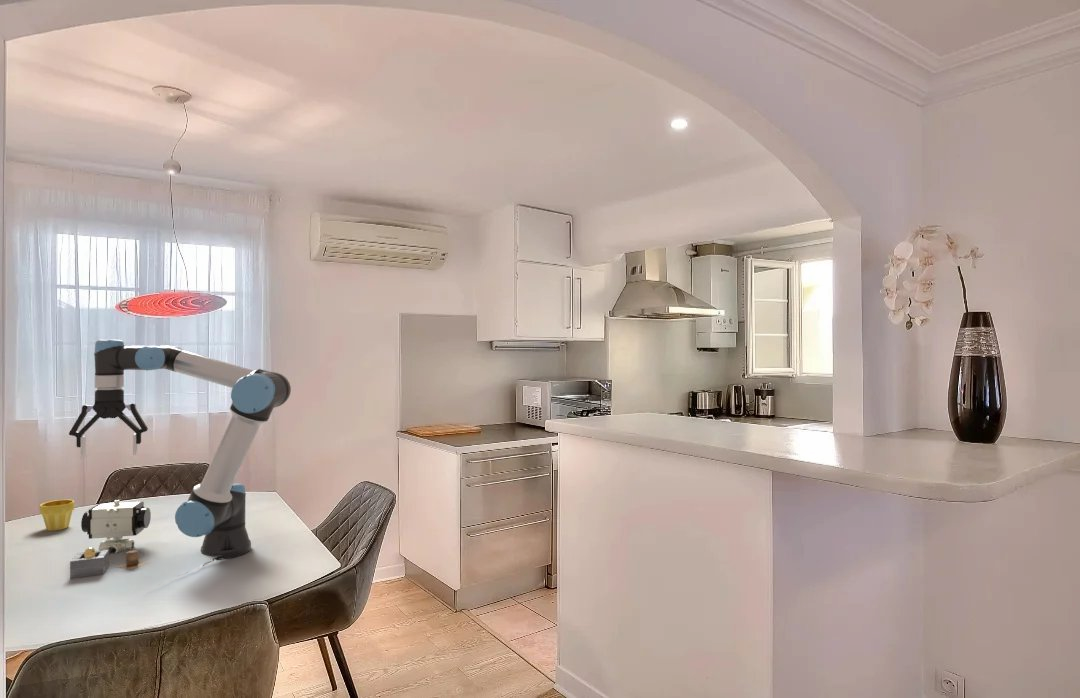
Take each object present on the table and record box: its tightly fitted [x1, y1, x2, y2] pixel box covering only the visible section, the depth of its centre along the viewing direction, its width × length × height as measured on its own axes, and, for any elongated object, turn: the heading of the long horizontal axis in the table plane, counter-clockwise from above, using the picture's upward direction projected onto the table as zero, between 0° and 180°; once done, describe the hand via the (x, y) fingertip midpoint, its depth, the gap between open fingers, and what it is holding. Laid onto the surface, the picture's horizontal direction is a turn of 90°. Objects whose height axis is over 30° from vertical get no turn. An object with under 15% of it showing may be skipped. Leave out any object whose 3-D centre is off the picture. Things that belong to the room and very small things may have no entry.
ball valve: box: [80, 499, 152, 554], centre depth 204 cm, size 18×8×18 cm, turn 105°
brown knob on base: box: [115, 549, 150, 570], centre depth 190 cm, size 6×6×6 cm
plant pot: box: [39, 499, 75, 532], centre depth 232 cm, size 10×10×10 cm
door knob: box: [84, 547, 96, 558], centre depth 184 cm, size 6×6×9 cm
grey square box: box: [69, 549, 110, 580], centre depth 184 cm, size 8×8×5 cm
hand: (109, 456), depth 193 cm, fingers open, 13 cm apart
